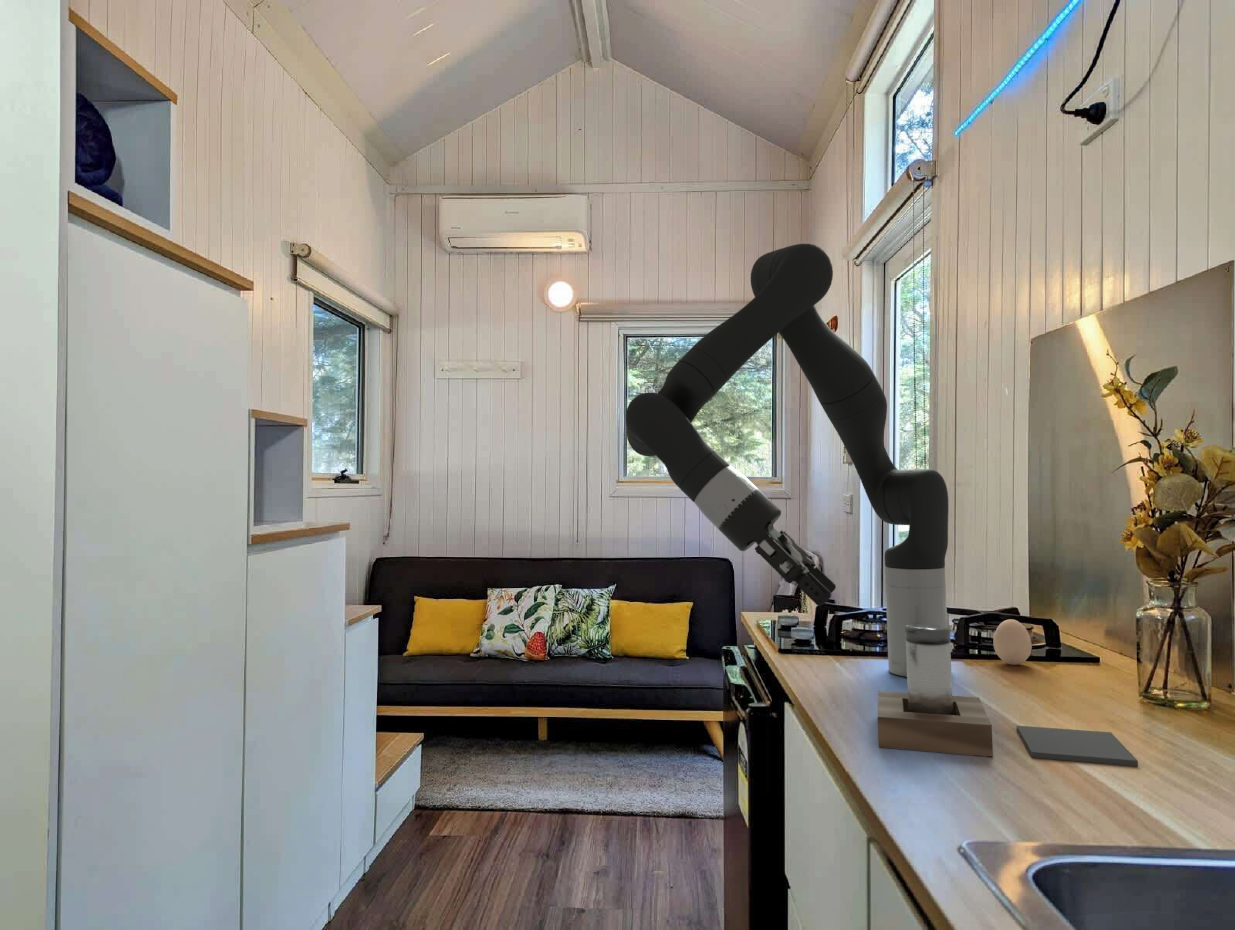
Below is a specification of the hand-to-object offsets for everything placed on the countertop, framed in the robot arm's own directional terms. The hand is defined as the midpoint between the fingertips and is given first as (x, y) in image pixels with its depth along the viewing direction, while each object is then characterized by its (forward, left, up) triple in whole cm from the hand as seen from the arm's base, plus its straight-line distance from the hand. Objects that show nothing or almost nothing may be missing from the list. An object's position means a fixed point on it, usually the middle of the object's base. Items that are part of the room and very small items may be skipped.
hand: (829, 596), depth 95 cm
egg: (-51, -3, -17) cm, 54 cm away
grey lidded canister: (-6, +9, -16) cm, 20 cm away
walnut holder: (-6, +9, -16) cm, 20 cm away
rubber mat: (-15, +22, -16) cm, 31 cm away
